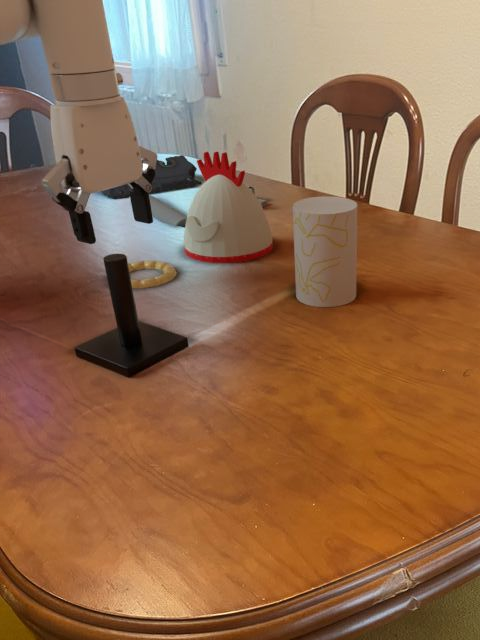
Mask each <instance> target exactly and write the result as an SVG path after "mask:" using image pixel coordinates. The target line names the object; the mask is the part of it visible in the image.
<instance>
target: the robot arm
mask: <svg viewBox="0 0 480 640" xmlns="http://www.w3.org/2000/svg"><path fill="white" fill-rule="evenodd" d="M37 37H40V41H41V44H42V49H43V53H44V56H45V61H46V66H47V70H48V74H49V75H48V76H49V80H50V83H51V87H52V91H53V96H54V100H55V104H50V108H49V109H50V111H49V112H50V131H51V139H52V148H53V153H54V158H55V166H53V167H52V169H50V171H49V172H48V173H46V175H45V176H44V177H42V179H41V181H40V182H41V185H42V187H43V188H44V190H45V191H46V192H47V193H48V195H49V196H50V197H51V199H52V201H53V202H55V203H56V204H57V205H58V206H59V207H62V208H63V210H64V211H66V212H68V214H69V219H70V222H71V223H70V224H71V227H72V230H73V234H74V236H75V239H76V240H77V241H78V242H81V243H85V244H89V245H93V244H96V242H97V238H96V234H95V228H94V224H93V220H92V215H91V213H90V212H89V211H87V210H86V207H87V204H88V202H89V199H90V196H91V194H97V193H101V192H100V191H104V190H107V189H111V188H114V187H118V186H121V185H125V184H128V185H129V186H130V187H131V188H132V189H133V191H130V197H129V199H130V204H131V209H132V214H133V219H134V221H135V222H138V223H144V224H148V225H150V224H153V223H154V218H153V217H154V216H153V215H152V210H151V205H150V199H149V195H150V194H149V192H151V190H152V186H151V184H152V181H153V179H154V177H155V170H154V169H155V168H156V162H157V160H158V154H157V153H156V152H154V151H152V150H150V149H148V148H145V147H143V146H140V144H139V141H138V137H137V132H136V130H135V125H134V122H133V118H132V116H131V113H130V110H129V107H128V105H127V102H126V100H125V98H124V97H121V92H120V87H119V86H121V85H123V84H124V78H123V75H122V74H121V73H120V72H117V71H116V70H117V69H116V67H115V66H116V65H115V61H114V55H113V54H114V53H113V50H112V44H111V39H110V33H109V28H108V21H107V17H106V12H105V6H104V0H0V46H3V45H7V44H12V43H15V42H19V41H23V40H27V39H31V38H37ZM142 160H143V168H142ZM61 186H62V187H61ZM63 189H65V190H67V191H66V193H65V191H63Z"/></svg>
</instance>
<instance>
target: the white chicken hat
mask: <svg viewBox="0 0 480 640" xmlns="http://www.w3.org/2000/svg"><path fill="white" fill-rule="evenodd" d="M196 163H197V166H198V169H199V171H200V172H201V175H202V177H203V179H204V182H203V184H201V186H200V187H199V189H198V190H197V191H196V193H195V195H194V197H193V199H192V201H191V203H190V205H189V208H188V212H187V215H186V216H187V219H186V226H185V227H184V233H183V249H184V253H185V255H186V256H187V257H188V258H190V259H192V260H194V261H198V262H202V263H209V264H210V263H211V264H232V263H242V262H246V261H247V262H248V261H252V260H255V259H258V258H261V257H263V256H266V255H267V254H269V253H270V252H271V251H272V250H273V249H274V244H273V242H274V241H273V234H272V229H271V227H270V224H269V221H268V218H267V216H266V212H265V210H264V208H263V207H262V204H261V202H259V200H258V199H259V198H257V196H256V194H255V195H254V193H253V192H252V189H250V188H248V187H247V186H248V185H247V184H246V183H245V182H244V179H245V175H246V174H245V173H246V170H241V171H240V172H239V174H238V176H237V175H236V173H237V160H235V161H232V162H230V161H229V157H228V153H227V151H225V152H222V153H221V157H220V153H219V151H214V152H213V156H212V158H211V154H210V152H209V151H205V152H203V159H201V158H200V159H197V160H196Z"/></svg>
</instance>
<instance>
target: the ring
mask: <svg viewBox="0 0 480 640" xmlns="http://www.w3.org/2000/svg"><path fill="white" fill-rule="evenodd" d="M128 267H129V273H131V272H134V271H140V270H157V271H162V272H163V273H162V274H160V275H158V276H156V277H151V278H150V277H149V278H145V279H131V284H132V289H147V288H153V287H158V286H162V285H164V284H166V283H168V282H171V281H173V280H174V279H175V277H176V276H177V274H178V272H177V270H176V269H175V268H174V266H173V265H172V264H170V263H167V262H164V261H160V260H142V261H135V262H129V263H128Z"/></svg>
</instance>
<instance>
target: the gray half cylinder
mask: <svg viewBox="0 0 480 640" xmlns="http://www.w3.org/2000/svg"><path fill="white" fill-rule="evenodd" d="M149 199H150V205H151V210H152V217H154V218H156V219H158V220H159V221H160V222H162V223H164V224H168V225H172V226H175V227H180V228H185V226H186V219H187V215H185V214H183V212H180V211H178V210H177V209H175V208H174V207H172V206H170V205H169V204H166V203H165V202H163V201H162V200H160V199H159V198H156V197H155V196H153V195H151V194H149Z"/></svg>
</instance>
